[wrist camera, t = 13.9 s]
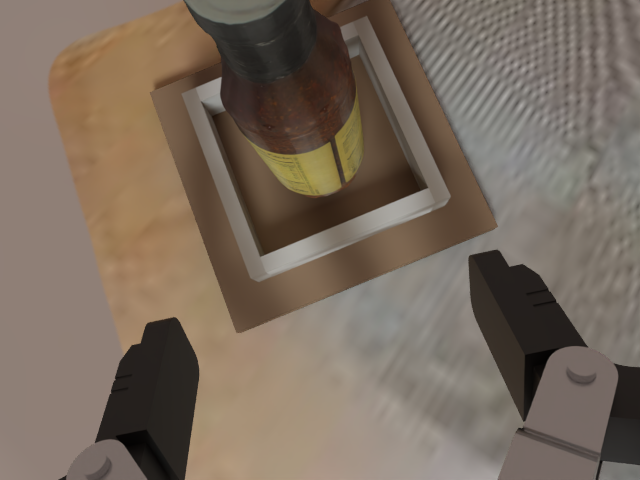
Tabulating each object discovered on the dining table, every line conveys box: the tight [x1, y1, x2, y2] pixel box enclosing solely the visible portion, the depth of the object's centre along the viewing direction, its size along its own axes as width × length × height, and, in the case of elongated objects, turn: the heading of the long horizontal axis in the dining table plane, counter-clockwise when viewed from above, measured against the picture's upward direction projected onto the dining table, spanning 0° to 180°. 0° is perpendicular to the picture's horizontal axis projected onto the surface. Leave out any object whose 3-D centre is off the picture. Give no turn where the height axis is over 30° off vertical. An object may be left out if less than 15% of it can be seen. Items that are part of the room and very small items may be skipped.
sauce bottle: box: [184, 0, 364, 198], centre depth 26 cm, size 7×6×20 cm
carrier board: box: [150, 0, 498, 333], centre depth 35 cm, size 18×18×4 cm
